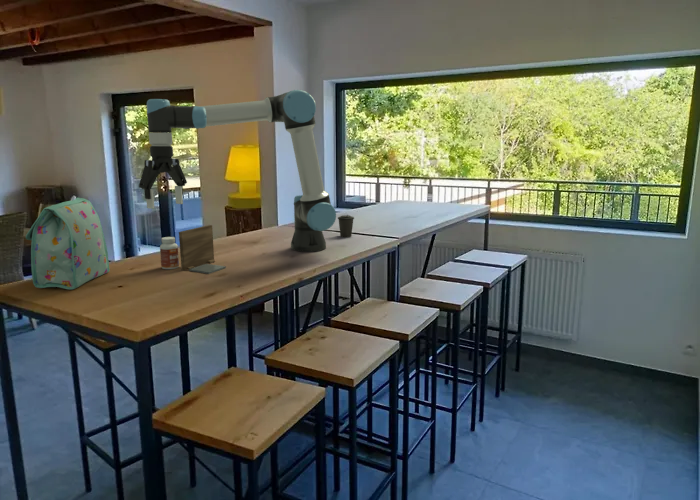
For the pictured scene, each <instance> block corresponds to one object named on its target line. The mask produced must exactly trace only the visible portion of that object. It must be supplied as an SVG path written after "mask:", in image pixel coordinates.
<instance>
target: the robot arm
mask: <svg viewBox="0 0 700 500" xmlns="http://www.w3.org/2000/svg"><path fill="white" fill-rule="evenodd" d="M316 105H317V104H316V101H315V98H314V97H313V96H312V95H311V94H310V93H309V92H307V91H305V90H303V89H302V90H301V89H293V90H290V91H288V92H284V93H281V94H278V95H275V96H274V95H273V96H267V97H265V99H263V100H254V101H243V102H234V103H223V104H221V103H220V104H213V105H212V104H211V105H201V106H200V105H199V106H198V105H194V106H193V105H192V106H191V105H190V106H189V105H171V103H170V100H168V99H165V98H163V99H162V98H150V99H148V100H147V101H146V117H147V119H146V120H147V128H148V141H149V142H148V143H149V144H150V146H149V156H150V157H151V159H152V160H151V159H150V160H149V159H145V160H144V164H143V165H144V167H143V170H142V174H141V176H140V177H141V178H140V181H139V184H138V187H139V188H140V189H141V190H144V198H145V201H146V208H147V209H151V210H152V209H153V210H154V209H155V198H154V197H155V196H154V189H152V187H153V185H154V184H155V182H156V180H157V179H158V177H159V175H160V174H161V173H167V174H168V175H169V177H170V179H171V180H172V181H173V182H174V184H175V185H174V196H175V204H178V205H184V199H183V198H184V197H183V195H184V186H186V185H187V183H188V181H187V179H186V178H187V177H186V176H185V174H184V172H183V169H182V167H181V164H180V159H179V158H172V157H174V148H173V146H172V145H173V134H172V128H173V129H184V130H189V129H205V128H206V127H212V126H213V127H214V126H223V125H235V124H243V123H252V122H262V121H267V122H269V123H283V124H284V129H285V131H286V132H288V133H289V134H290V138H291V142H292V146H293V151H294V157H295V163H296V167H297V171H298V177H299V182H300V186H301V187H300V188H301V191H302V195H295V196H294V198H293V211H294V213H293V214H294V215H293V217H294V219H293V220H294V232H293V235H292V237H291V238H292V239H291V241H290V249H291V250H293V251H296V252H319V251H323V250H326V248H327V242H326V238H325V237H324V236H325V235H324V233H323V232H324V231H327V230H329V229H331V228H332V226H333V225H334V224H335V222H336V218H337V212H336V209H335V207H334V206H333V205H332V204H331V203H332V202H331V198H330V194H329V193H328V192H327V191H326V190H325V187H324V181H323V177H322V176H323V175H322V171H321V166H320V162H319V156H318V150H317V144H316V142H315V135H314V128H315V126H316V120H315V114H316V110H317V106H316Z"/></svg>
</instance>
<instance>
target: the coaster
mask: <svg viewBox="0 0 700 500" xmlns="http://www.w3.org/2000/svg"><path fill="white" fill-rule="evenodd" d="M224 269H226V266H225V265H219V264H213V263H206V264H203V265H200V266H197V267H194V268H192V269H189V270H188V271H189V272H194V273H201V274H206V275H207V274H209V275H210V274H213V273H216V272H218V271H221V270H224Z"/></svg>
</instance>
